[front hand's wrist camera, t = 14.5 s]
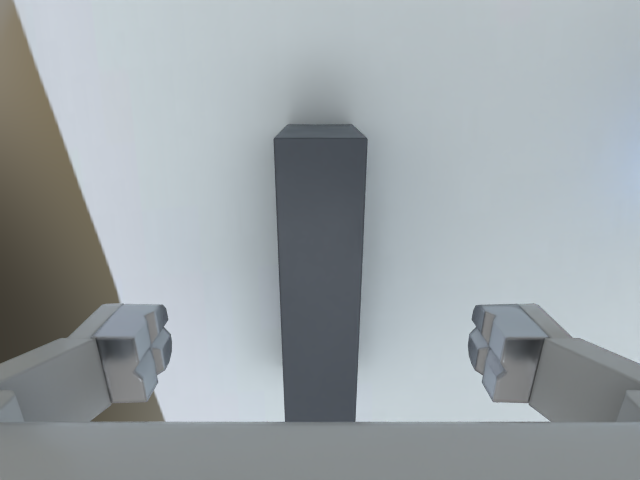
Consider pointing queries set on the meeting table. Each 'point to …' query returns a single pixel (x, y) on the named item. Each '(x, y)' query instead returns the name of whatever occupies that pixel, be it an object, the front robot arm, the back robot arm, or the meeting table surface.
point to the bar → (320, 267)
